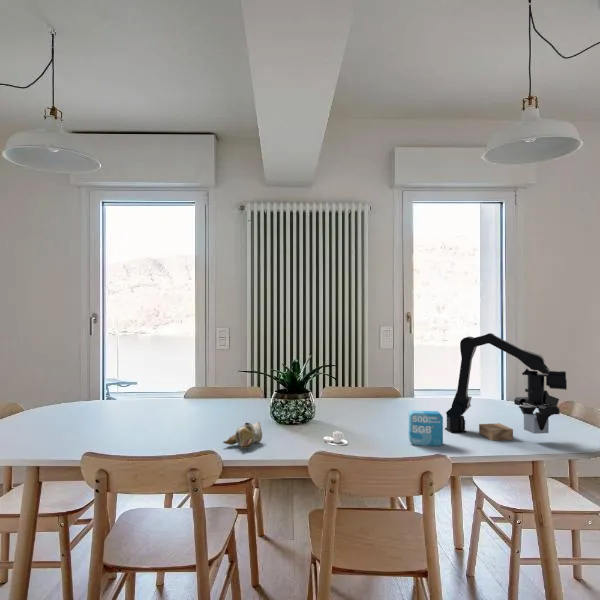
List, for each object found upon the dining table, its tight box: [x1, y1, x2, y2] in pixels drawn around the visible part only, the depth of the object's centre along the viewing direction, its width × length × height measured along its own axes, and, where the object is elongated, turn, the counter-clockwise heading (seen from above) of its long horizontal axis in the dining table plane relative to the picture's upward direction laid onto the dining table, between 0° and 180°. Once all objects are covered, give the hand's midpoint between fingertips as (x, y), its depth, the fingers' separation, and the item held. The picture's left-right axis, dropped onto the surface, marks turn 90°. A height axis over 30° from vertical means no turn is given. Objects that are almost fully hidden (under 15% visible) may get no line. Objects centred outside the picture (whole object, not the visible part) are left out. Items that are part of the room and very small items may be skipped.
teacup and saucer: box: [323, 431, 348, 446], centre depth 171 cm, size 9×8×4 cm
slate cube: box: [523, 413, 550, 435], centre depth 172 cm, size 6×6×6 cm
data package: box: [408, 410, 444, 447], centre depth 169 cm, size 12×4×12 cm, turn 84°
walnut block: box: [478, 422, 514, 441], centre depth 179 cm, size 9×9×4 cm
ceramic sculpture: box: [222, 421, 263, 449], centre depth 166 cm, size 11×9×15 cm
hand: (536, 427), depth 172 cm, fingers closed on slate cube, 6 cm apart
